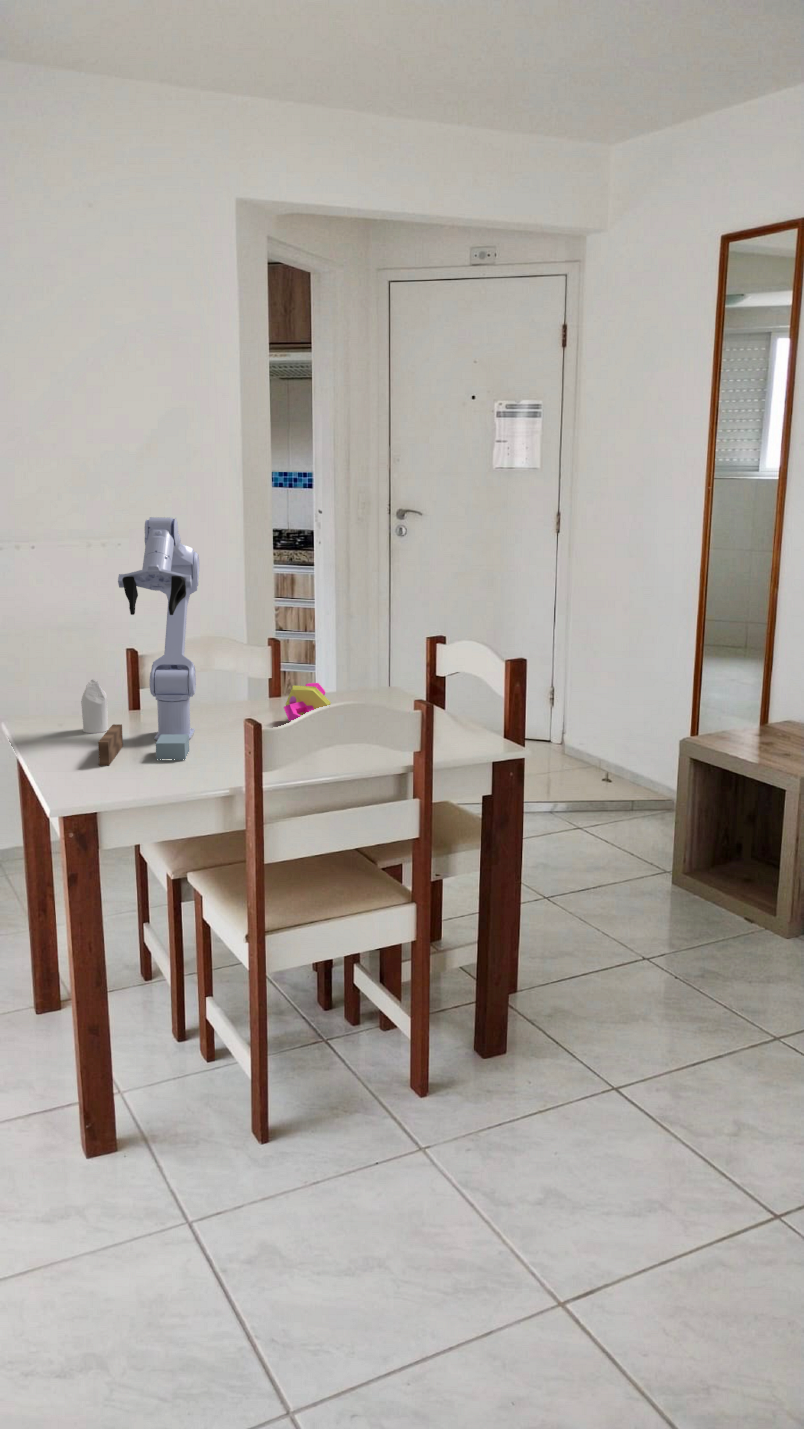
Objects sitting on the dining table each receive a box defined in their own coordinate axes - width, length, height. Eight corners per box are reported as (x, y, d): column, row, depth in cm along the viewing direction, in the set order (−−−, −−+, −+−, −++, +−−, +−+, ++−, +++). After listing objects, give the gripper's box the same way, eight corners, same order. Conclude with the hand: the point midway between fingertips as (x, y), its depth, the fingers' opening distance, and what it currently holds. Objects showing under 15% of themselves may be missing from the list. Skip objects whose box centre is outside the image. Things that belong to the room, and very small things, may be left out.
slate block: (161, 752, 244) (160, 734, 244) (189, 752, 245) (188, 734, 244) (156, 761, 237) (155, 743, 236) (185, 761, 237) (184, 743, 236)
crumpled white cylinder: (89, 683, 256) (74, 680, 259) (91, 734, 258) (77, 730, 262) (111, 679, 260) (97, 676, 264) (113, 730, 263) (99, 726, 266)
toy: (271, 730, 268) (284, 697, 263) (291, 695, 284) (305, 662, 278) (309, 748, 269) (324, 714, 263) (328, 711, 284) (342, 679, 279)
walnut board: (113, 746, 248) (112, 724, 247) (122, 746, 248) (121, 724, 247) (99, 765, 232) (98, 742, 231) (109, 765, 232) (108, 742, 231)
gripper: (119, 547, 228) (111, 597, 220) (191, 548, 229) (186, 598, 221) (124, 572, 234) (116, 621, 226) (194, 572, 235) (189, 621, 227)
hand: (151, 611), depth 224 cm, fingers open, 7 cm apart
